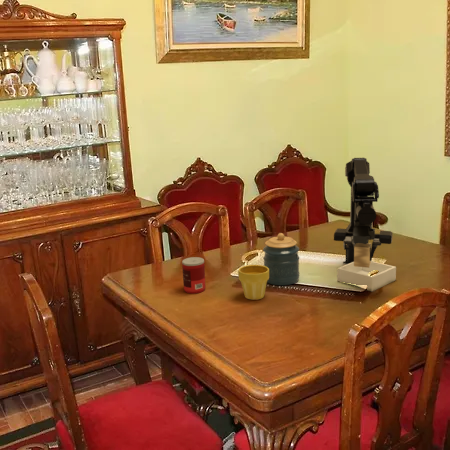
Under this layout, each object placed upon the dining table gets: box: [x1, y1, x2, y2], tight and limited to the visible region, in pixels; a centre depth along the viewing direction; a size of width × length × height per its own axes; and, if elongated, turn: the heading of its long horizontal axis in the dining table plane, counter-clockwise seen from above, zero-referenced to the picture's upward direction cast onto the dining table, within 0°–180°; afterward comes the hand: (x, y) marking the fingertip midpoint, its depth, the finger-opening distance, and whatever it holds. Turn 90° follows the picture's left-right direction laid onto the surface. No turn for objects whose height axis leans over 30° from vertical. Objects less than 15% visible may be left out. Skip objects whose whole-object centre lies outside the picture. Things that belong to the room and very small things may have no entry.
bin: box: [336, 260, 397, 292], centre depth 209 cm, size 15×15×5 cm
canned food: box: [181, 256, 206, 295], centre depth 206 cm, size 8×8×11 cm
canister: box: [262, 232, 300, 286], centre depth 212 cm, size 13×13×18 cm
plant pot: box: [237, 264, 269, 301], centre depth 198 cm, size 10×10×10 cm
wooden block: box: [354, 242, 372, 268], centre depth 197 cm, size 5×5×7 cm
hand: (362, 260), depth 198 cm, fingers closed on wooden block, 5 cm apart
